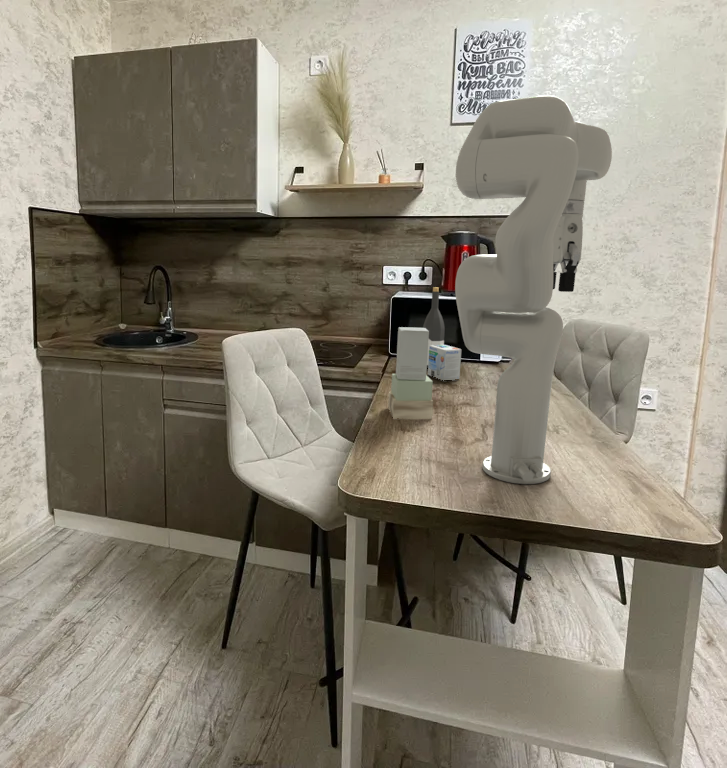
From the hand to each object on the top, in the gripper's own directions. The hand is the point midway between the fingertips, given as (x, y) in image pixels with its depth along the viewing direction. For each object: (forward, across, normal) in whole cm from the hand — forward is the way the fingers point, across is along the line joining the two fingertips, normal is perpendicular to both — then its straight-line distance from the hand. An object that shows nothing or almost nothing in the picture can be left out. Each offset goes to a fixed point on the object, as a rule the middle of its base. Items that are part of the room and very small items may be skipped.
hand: (556, 290), depth 117 cm
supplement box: (+24, +14, +30) cm, 41 cm away
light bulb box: (+34, +58, +12) cm, 68 cm away
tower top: (+29, +14, +30) cm, 44 cm away
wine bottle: (+34, +75, +13) cm, 83 cm away
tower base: (+34, +14, +30) cm, 47 cm away
